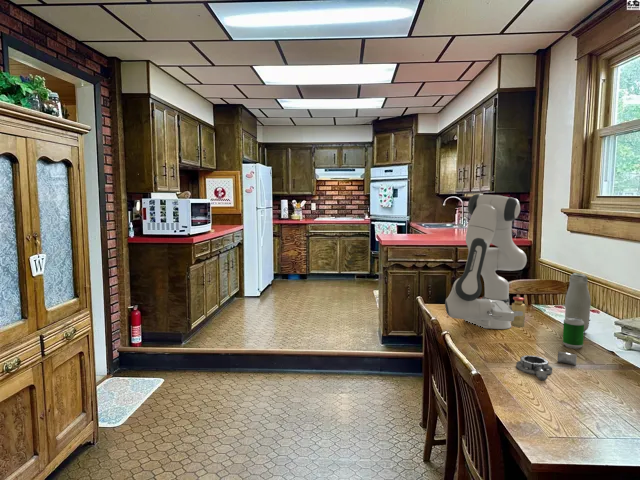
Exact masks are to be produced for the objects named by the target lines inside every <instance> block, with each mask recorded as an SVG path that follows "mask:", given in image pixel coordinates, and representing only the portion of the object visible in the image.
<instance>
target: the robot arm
mask: <svg viewBox="0 0 640 480" xmlns="http://www.w3.org/2000/svg"><path fill="white" fill-rule="evenodd" d="M467 211H468V213H469V215H470V219H469V222H468V225H467V228H466V233H465V243H466V247H467V249H468V255H467V260H466V263H465V267H464V271H463V274H462V275H461V276H460V277H458V278H457V279H456V280H455V281H454V282H453V285H452V287H451V291H450V293H449V295H448V297H447V298H445V301H444V306H445V311H446V314H447V315H448V317H450V318H451V319H457V320H459V319H460V320H463V321H464V320H465V321H464V322H466V321H468V322H467V323H469V322H470V323H469V324H472V323H473V324H472V325H474V324H476V325H475V326H477V325H478V326H477V327H480V326H481V327H480V328H482V327H483V328H482V329H495V330H506V329H510V328H512V325H511V321H514V317H515V316H523V312H522V311H512V305H510V296H509V295H510V293H509V291H510V285H509V282H508V280H507V279H505V278H504V277H502V276H500V275H498V274H497V273H496V271H509V272H511V271H520V270H523V269H524V268H525V267H526V265H527V262H528V259H527V254H526V253H525V251H523V249H521V248H519V247H518V246H517V245H516V243H515V242H514V240H513V235H512V234H513V233H512V230H513V229H512V228H513V225H512V224H513V221H514V220H515V221H516V219H518V217H519V215H520V213H521V204H520V201H519V200H518V199H517V198H514V197H511V196H510V197H508V196H503V195H501V194H482V193H475V194H473V195H472V196H470V198H469V200H468V204H467ZM490 245H493V246H495V247H490ZM481 277H482V279H483V282H484V283H483V284H484V285H482V282H481V281H482V280H481ZM482 286H484V295H483V296H482V297H480V296H481V295H482V289H483V288H482Z"/></svg>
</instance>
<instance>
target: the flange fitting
mask: <svg viewBox="0 0 640 480" xmlns="http://www.w3.org/2000/svg"><path fill="white" fill-rule="evenodd" d="M515 366H516V369H517V370H519V371H520V372H522V373H525V374H528V375H532V376H536V377H537V378H538V380H540V381H542V382H543V381H546V380H548V377H549V375H551V374H552V373H553V367H552V366H550V365H549V361H548V360H547V359H546V358H545V357H541V356H538V355H531V354H530V355H529V354H528V355H522V356H521V357H520V360H518V361H517V362H516V365H515Z"/></svg>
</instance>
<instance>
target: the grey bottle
mask: <svg viewBox="0 0 640 480" xmlns="http://www.w3.org/2000/svg"><path fill="white" fill-rule="evenodd" d="M568 285H569V286H568V289H567V292H566V295H565V298H564V300H565V302H564V304H565V305H564V307H565V308H564V309H565V310H564V319H566V318H567V317H576V318H580V319H582V321H583V322H584V332H586V331H587V330H588V329H589V327H590V319H591V318H590V315H591V302H592V301H591V295H590V291H589V286H588V276H587V274H584V273H582V272H581V273H579V272H574V273H572V274H570V277H569V284H568Z"/></svg>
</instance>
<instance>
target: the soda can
mask: <svg viewBox="0 0 640 480" xmlns="http://www.w3.org/2000/svg"><path fill="white" fill-rule="evenodd" d="M562 331H563V332H562V333H563V334H562V343H563V345H564V346H565V347H566V348H569V349H574V350H575V349H578V350H579V349H581V348H582V347H583V346H584V337H585V336H584V333H585V331H584V322H583V321H582V319H580V318H576V317H567V318H566V319H565V318H564V319H563V330H562Z"/></svg>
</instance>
